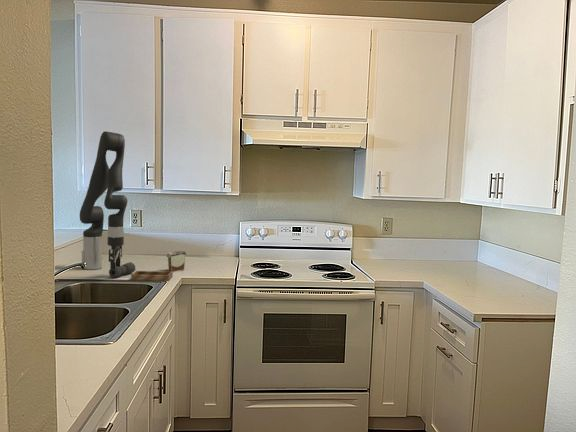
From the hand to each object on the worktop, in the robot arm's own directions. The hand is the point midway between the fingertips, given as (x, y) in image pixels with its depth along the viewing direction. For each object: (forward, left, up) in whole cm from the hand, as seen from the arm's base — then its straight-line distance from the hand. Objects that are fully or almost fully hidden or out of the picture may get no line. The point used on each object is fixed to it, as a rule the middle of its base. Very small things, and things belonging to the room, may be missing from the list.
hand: (115, 268), depth 232 cm
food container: (+25, +21, -5) cm, 33 cm away
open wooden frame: (+18, 0, -5) cm, 19 cm away
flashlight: (0, -1, -6) cm, 6 cm away
